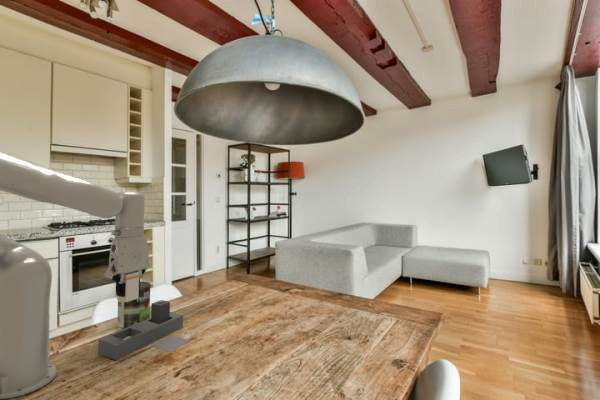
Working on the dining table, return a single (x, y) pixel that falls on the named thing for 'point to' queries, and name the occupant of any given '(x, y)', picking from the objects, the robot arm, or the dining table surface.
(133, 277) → the plug
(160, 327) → the dark grey socket base
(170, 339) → the mat
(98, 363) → the dining table surface
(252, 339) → the dining table surface
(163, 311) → the twin plug
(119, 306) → the coffee can
